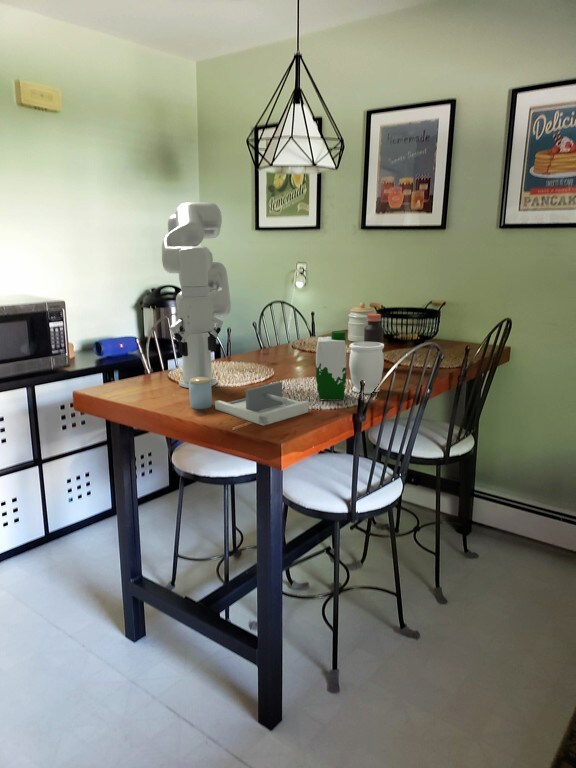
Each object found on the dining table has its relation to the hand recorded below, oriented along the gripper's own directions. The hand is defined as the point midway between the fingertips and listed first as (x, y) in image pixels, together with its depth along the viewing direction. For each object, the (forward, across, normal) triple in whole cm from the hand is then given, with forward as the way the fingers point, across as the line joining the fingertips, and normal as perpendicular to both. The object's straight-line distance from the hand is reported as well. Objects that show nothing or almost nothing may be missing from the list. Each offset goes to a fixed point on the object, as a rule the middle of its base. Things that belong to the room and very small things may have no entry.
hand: (198, 353), depth 162 cm
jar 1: (+15, -116, -36) cm, 123 cm away
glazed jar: (+16, 0, 0) cm, 16 cm away
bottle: (+16, -72, +6) cm, 74 cm away
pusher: (+15, -9, +22) cm, 28 cm away
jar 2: (+16, -46, +24) cm, 54 cm away
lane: (+16, -9, +16) cm, 24 cm away
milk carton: (+16, -33, +21) cm, 42 cm away
